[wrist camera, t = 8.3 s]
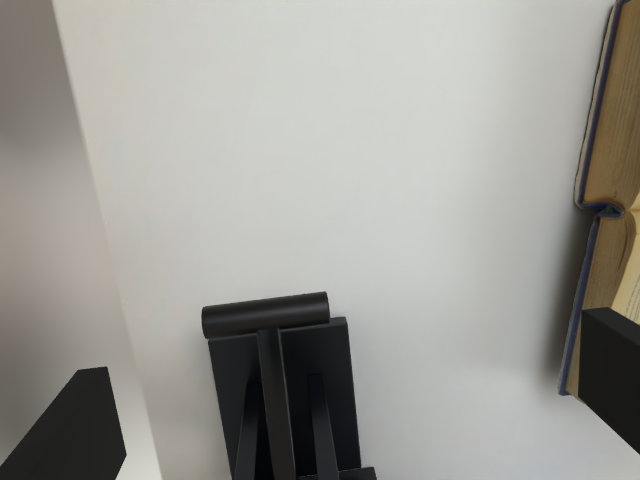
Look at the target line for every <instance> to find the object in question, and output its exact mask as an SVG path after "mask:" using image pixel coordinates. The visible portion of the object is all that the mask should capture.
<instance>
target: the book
mask: <svg viewBox="0 0 640 480" xmlns="http://www.w3.org/2000/svg"><path fill="white" fill-rule="evenodd" d="M593 95H594V96H593V102H592V108H591V110H590V115H589V121H588V126H587V132H586V137H585V141H584V143H583V148H582V153H581V159H580V164H579V172H578V174H577V177H576V185H575V194H574V196H575V203H576V205H577V206H578V207H579V208H580V209H582V210H590V211H591V210H592V211H593V210H595V211H596V210H598V211H601V212H600V213H598V214H597V215H595V218H594V222H593V225H592V227H591V230H590V234H589V238H588V244H587V250H586V255H585V259H584V261H583V265H582V269H581V274H580V277H579V281H578V286H577V290H576V295H575V299H574V304H573V310H572V314H571V317H570V322H569V327H568V333H567V338H566V343H565V347H564V353H563V359H562V365H561V369H560V374H559V380H558V394H559V395H562V396H565V395H573V396H574V397H575V398H577V399H578V400H579V401H580V402H582V403H584V402H583V401H582V400H581V399H580V398H579V397H578V379H579V356H580V334H581V312H582V310H584V309H592V308H601V307H609V308H611V309H613V310H614V311H616V312H618V313H620V314H621V315H623V316H625V317H627V318H628V319H630V320H632V321H634V322H635V323H637V324H639V325H640V0H616V3H615V5H614V7H613V10H612V13H611V16H610V20H609V24H608V30H607V33H606V37H605V41H604V46H603V51H602V57H601V63H600V69H599V71H598V74H597V79H596V84H595V88H594V94H593Z"/></svg>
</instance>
